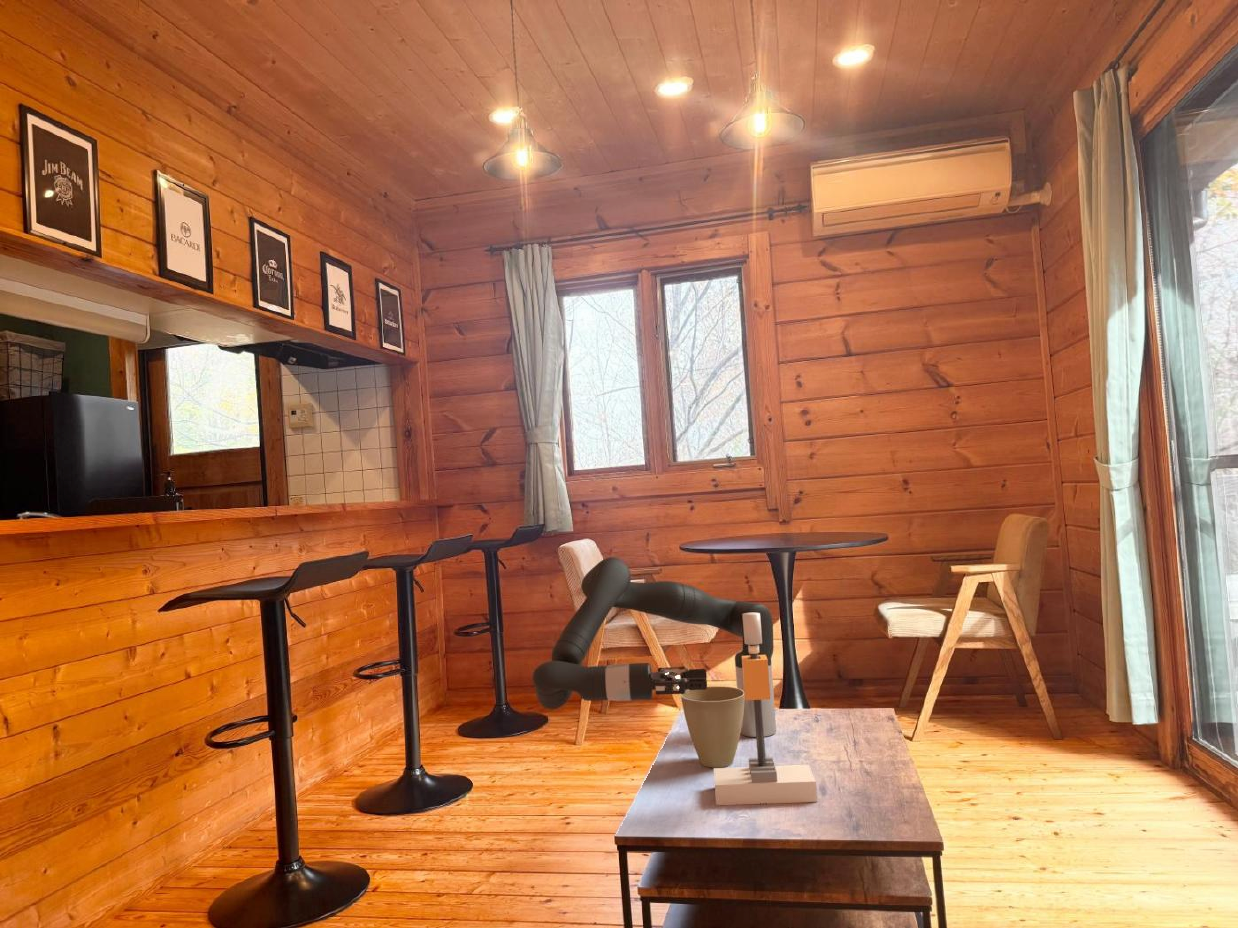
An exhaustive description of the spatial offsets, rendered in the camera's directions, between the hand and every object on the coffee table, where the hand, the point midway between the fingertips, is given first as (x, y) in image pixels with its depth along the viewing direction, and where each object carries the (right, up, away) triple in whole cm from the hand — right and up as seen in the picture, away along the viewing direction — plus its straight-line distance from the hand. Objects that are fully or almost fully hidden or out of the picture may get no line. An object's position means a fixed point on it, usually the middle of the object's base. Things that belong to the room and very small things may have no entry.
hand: (706, 678), depth 174 cm
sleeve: (+10, -3, -1) cm, 11 cm away
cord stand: (+12, -23, -2) cm, 26 cm away
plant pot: (+5, -25, +20) cm, 32 cm away
